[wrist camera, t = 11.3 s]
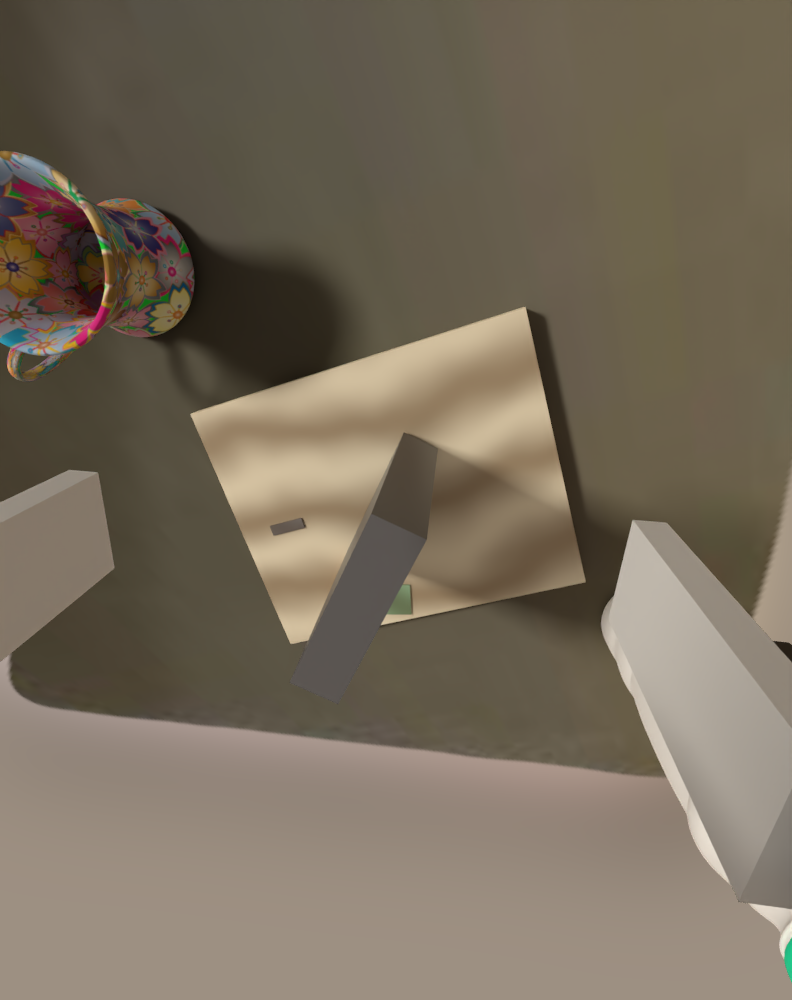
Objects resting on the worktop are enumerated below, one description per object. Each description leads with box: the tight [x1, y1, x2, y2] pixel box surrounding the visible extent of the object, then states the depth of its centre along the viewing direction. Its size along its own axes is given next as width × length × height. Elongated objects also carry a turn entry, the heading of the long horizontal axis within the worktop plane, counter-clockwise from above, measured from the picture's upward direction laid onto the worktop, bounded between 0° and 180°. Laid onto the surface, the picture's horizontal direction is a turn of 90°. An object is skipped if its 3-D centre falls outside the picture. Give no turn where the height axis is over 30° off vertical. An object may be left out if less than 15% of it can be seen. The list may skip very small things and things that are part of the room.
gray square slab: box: [290, 432, 438, 704], centre depth 32 cm, size 3×14×15 cm, turn 155°
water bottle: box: [601, 596, 792, 982], centre depth 29 cm, size 7×7×25 cm
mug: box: [0, 151, 195, 382], centre depth 32 cm, size 12×9×11 cm
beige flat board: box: [191, 307, 586, 644], centre depth 39 cm, size 20×24×2 cm
